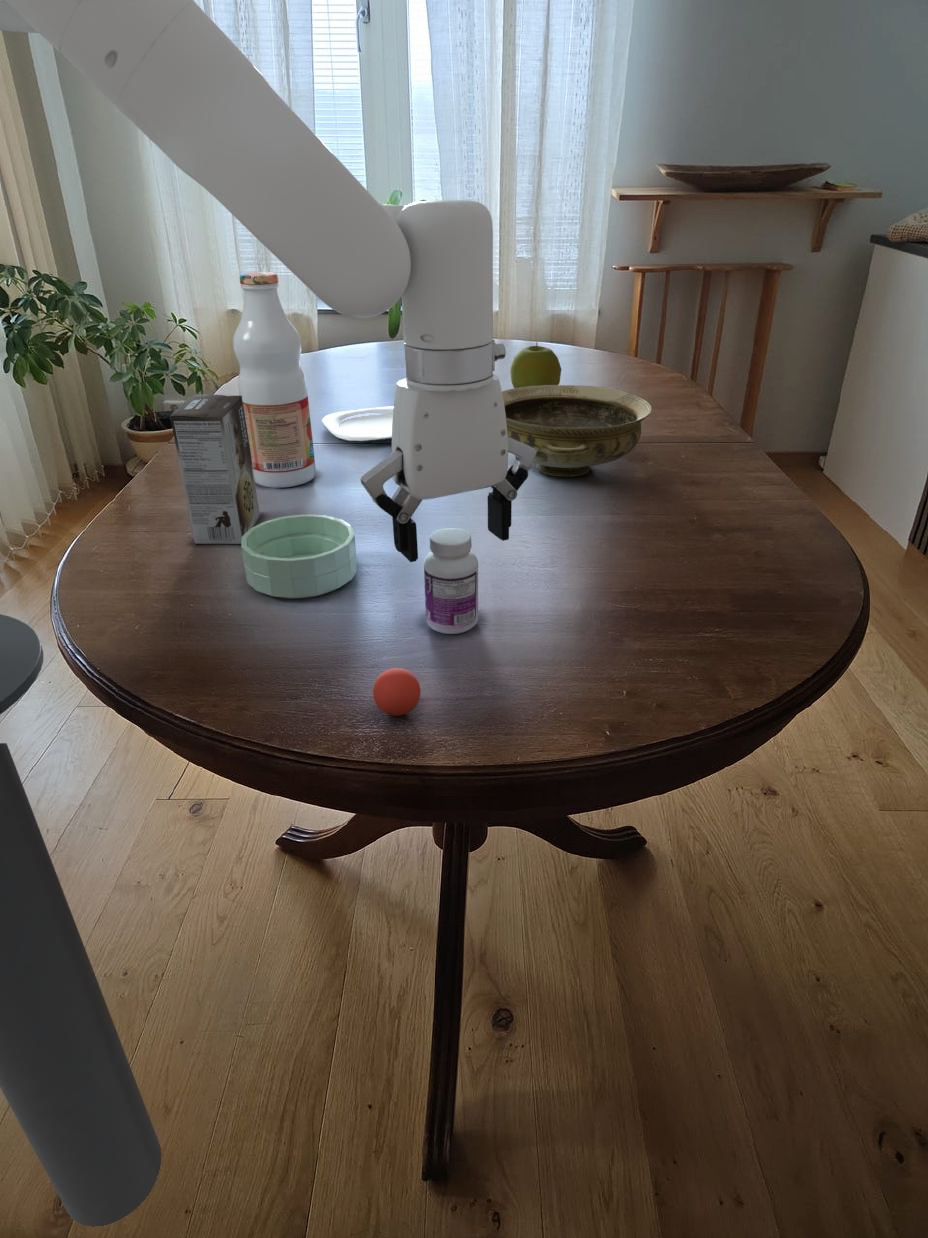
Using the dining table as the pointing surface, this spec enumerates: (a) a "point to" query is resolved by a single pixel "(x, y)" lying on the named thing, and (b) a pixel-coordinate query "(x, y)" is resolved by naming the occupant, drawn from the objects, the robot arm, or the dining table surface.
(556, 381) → the apple
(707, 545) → the dining table surface
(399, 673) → the rubber ball
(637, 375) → the dining table surface
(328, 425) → the plate
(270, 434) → the fruit juice
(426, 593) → the pill bottle
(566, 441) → the ceramic bowl
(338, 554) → the celadon bowl
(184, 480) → the grey cardboard box
